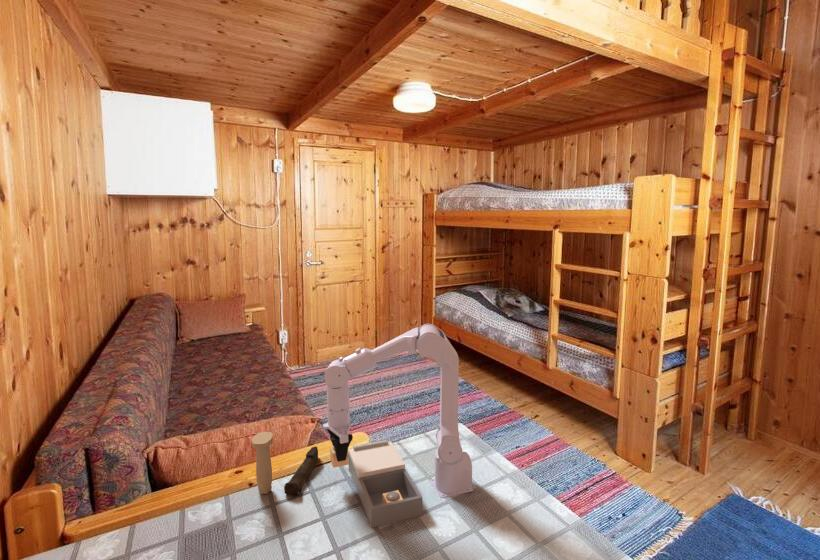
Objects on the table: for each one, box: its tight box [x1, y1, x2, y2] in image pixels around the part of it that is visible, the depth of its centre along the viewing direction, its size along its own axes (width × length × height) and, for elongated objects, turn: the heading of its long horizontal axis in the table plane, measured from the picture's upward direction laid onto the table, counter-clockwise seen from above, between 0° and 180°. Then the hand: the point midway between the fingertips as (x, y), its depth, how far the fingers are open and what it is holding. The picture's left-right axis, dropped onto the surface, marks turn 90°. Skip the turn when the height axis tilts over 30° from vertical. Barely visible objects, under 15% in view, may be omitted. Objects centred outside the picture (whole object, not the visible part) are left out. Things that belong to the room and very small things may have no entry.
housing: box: [348, 452, 423, 529], centre depth 112 cm, size 13×26×5 cm, turn 20°
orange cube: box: [329, 445, 349, 468], centre depth 113 cm, size 4×4×4 cm
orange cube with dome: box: [383, 490, 403, 504], centre depth 103 cm, size 4×4×4 cm
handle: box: [251, 431, 274, 495], centre depth 111 cm, size 5×6×15 cm
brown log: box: [283, 445, 319, 497], centre depth 119 cm, size 19×4×5 cm, turn 169°
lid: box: [348, 439, 406, 478], centre depth 117 cm, size 13×13×2 cm
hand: (339, 455), depth 113 cm, fingers closed on orange cube, 4 cm apart
